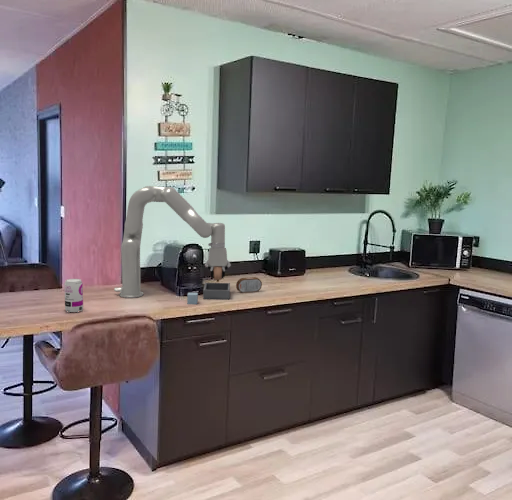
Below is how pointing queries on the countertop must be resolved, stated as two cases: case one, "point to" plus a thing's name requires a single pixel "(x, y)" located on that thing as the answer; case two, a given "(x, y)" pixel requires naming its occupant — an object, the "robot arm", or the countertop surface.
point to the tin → (249, 284)
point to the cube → (192, 298)
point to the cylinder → (217, 272)
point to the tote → (216, 291)
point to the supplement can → (73, 295)
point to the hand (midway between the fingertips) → (217, 277)
